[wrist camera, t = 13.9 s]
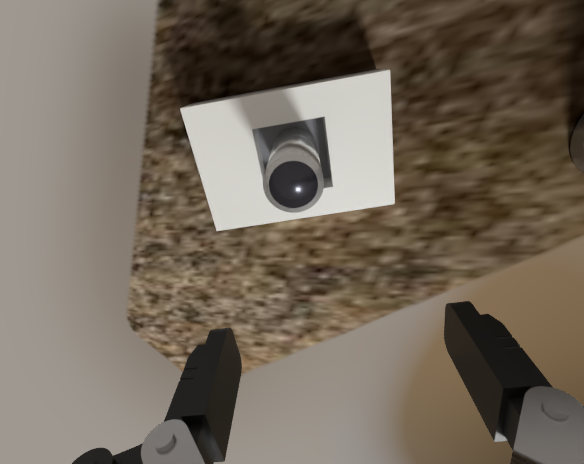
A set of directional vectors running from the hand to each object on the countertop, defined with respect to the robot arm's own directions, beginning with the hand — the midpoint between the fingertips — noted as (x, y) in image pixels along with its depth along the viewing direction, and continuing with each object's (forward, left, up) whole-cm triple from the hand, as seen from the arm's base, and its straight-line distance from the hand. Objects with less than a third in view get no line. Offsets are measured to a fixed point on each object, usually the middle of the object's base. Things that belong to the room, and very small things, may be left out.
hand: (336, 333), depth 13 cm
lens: (+1, -2, -24) cm, 24 cm away
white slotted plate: (+1, -2, -26) cm, 26 cm away
